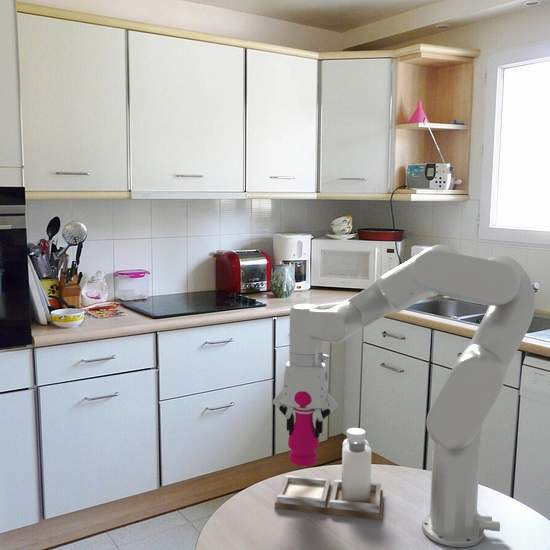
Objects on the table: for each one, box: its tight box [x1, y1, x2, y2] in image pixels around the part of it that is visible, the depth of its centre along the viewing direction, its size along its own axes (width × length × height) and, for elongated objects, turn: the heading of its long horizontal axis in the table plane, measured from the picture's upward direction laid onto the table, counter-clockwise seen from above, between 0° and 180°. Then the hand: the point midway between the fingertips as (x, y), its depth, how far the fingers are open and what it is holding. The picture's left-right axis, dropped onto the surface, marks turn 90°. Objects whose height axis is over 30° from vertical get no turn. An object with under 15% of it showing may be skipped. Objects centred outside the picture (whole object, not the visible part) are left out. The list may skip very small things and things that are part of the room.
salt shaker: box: [341, 439, 372, 503], centre depth 144 cm, size 7×7×14 cm
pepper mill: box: [287, 391, 320, 467], centre depth 145 cm, size 7×7×20 cm
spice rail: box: [274, 474, 384, 520], centre depth 146 cm, size 24×11×3 cm, turn 79°
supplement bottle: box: [342, 427, 370, 448], centre depth 157 cm, size 7×7×13 cm
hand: (304, 433), depth 145 cm, fingers closed on pepper mill, 5 cm apart
